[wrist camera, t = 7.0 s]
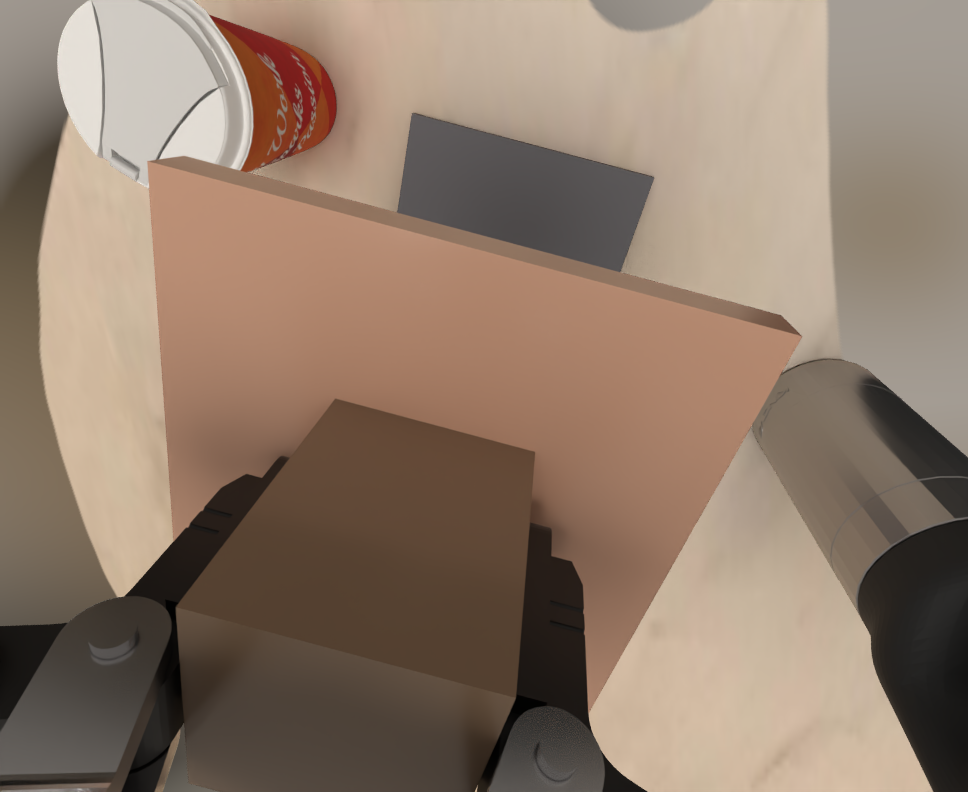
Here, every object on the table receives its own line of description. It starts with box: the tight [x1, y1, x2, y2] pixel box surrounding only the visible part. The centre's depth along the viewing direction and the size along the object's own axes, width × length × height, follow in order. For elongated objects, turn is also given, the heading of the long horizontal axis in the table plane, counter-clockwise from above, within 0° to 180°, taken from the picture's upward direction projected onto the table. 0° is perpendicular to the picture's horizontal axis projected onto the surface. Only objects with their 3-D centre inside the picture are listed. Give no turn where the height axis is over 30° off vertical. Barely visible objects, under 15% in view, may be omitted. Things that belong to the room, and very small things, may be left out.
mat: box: [397, 113, 654, 272], centre depth 38 cm, size 16×12×1 cm
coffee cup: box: [57, 0, 336, 189], centre depth 29 cm, size 8×8×15 cm
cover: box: [147, 156, 802, 792], centre depth 10 cm, size 11×11×6 cm
